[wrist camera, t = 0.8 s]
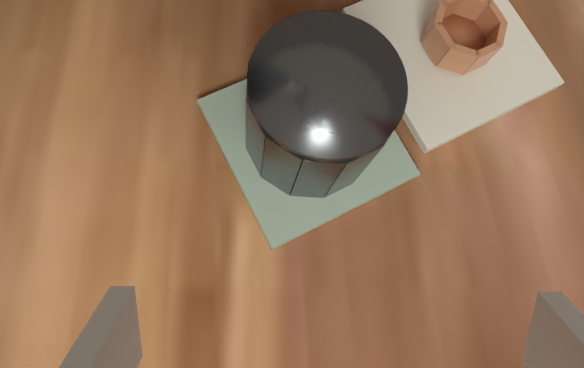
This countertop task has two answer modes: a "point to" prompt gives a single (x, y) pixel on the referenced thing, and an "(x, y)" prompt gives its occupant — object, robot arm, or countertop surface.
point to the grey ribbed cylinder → (321, 101)
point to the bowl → (464, 34)
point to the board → (454, 87)
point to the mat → (275, 203)
